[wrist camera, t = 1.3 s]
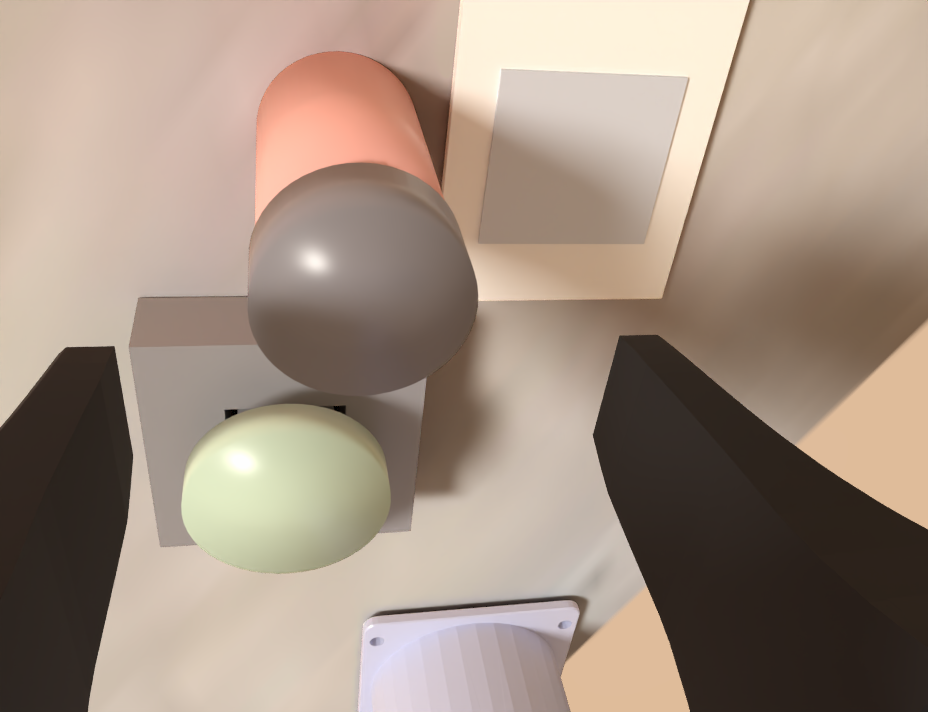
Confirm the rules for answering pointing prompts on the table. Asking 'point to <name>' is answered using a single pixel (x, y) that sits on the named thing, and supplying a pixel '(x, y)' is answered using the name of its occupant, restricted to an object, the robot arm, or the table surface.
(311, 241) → the marker
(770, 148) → the table surface
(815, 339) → the table surface
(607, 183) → the cream rectangular plate
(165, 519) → the button housing
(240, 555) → the button
